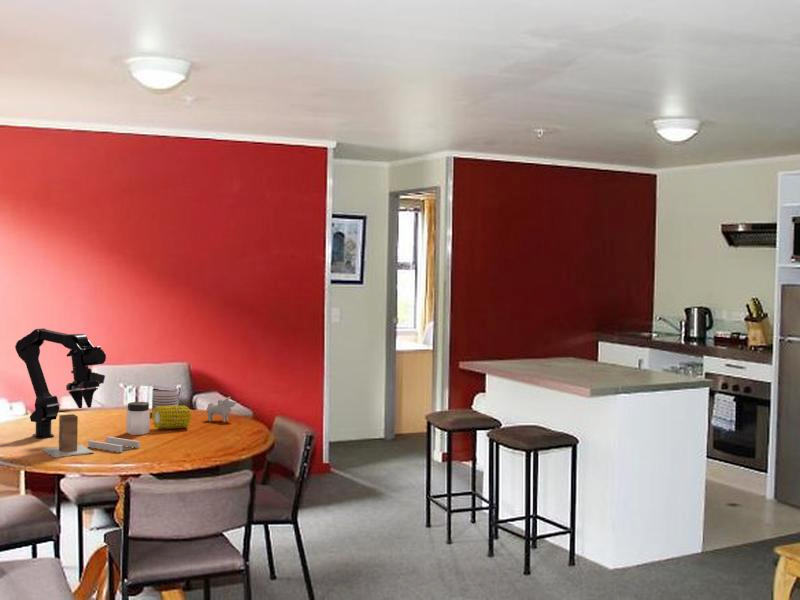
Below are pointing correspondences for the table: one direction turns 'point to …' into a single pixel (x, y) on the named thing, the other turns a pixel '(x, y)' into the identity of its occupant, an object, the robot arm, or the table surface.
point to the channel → (114, 444)
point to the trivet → (57, 453)
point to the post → (68, 432)
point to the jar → (138, 418)
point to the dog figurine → (220, 408)
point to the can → (164, 396)
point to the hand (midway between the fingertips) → (84, 407)
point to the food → (171, 417)
